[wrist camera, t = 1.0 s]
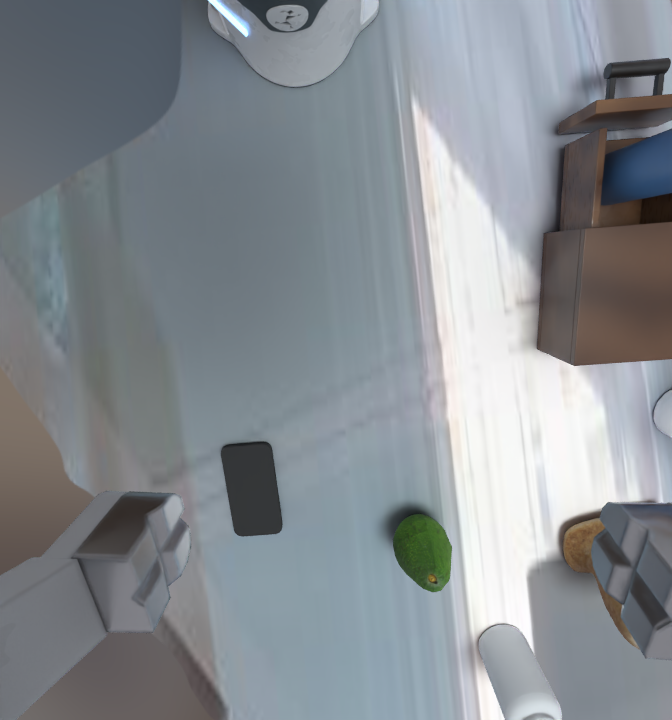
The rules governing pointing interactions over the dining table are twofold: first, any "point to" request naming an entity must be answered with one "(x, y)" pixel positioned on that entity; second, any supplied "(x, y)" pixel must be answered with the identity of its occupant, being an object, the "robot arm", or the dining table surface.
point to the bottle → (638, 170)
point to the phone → (252, 488)
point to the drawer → (591, 149)
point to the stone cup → (591, 565)
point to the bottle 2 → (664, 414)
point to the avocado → (423, 551)
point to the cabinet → (607, 294)
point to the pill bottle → (517, 676)
